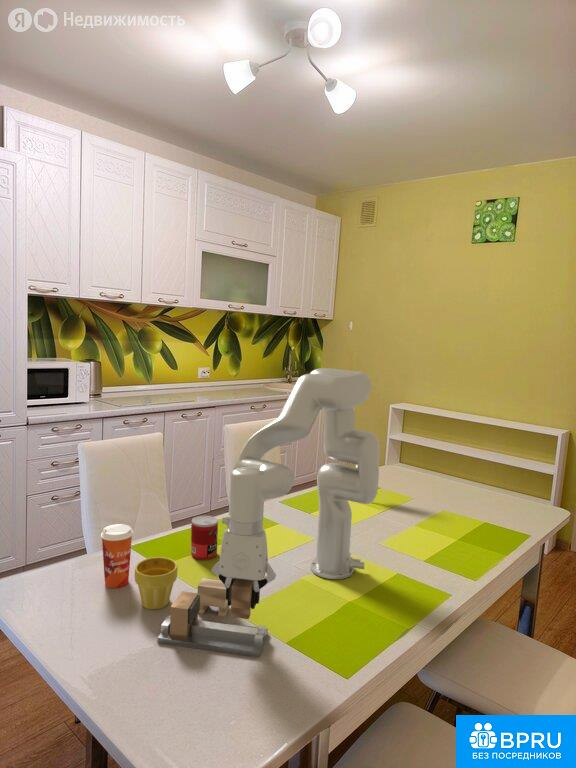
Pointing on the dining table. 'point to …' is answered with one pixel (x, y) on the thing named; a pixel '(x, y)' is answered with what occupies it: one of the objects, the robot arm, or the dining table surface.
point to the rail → (215, 643)
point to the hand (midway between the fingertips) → (242, 603)
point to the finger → (240, 598)
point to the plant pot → (155, 581)
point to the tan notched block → (212, 595)
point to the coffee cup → (116, 554)
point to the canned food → (204, 537)
